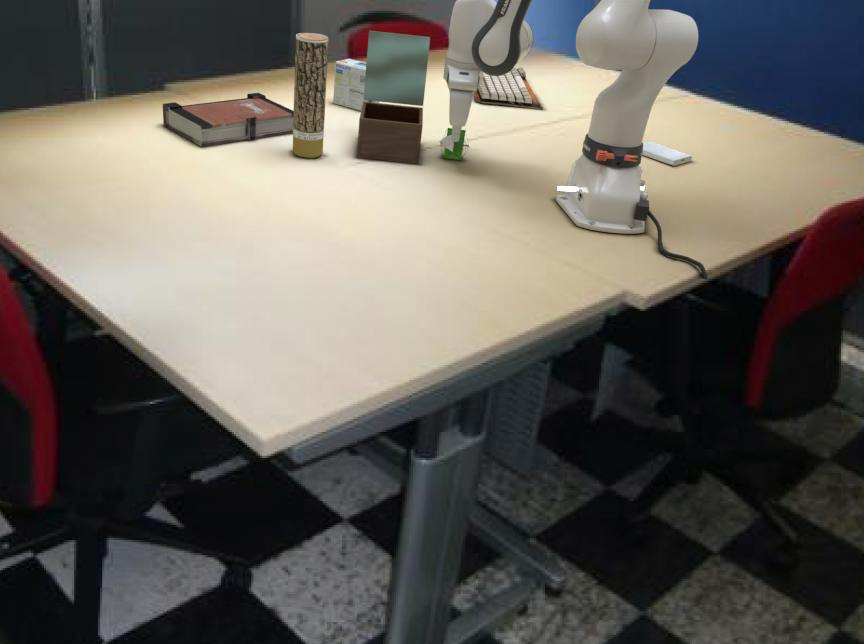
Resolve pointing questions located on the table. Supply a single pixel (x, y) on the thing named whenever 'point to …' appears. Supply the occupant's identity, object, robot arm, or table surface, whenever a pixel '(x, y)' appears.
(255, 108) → the book
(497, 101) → the mechanical keyboard
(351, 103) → the light bulb box
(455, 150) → the geometric puzzle
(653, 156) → the hard drive
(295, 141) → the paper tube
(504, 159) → the table surface
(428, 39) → the pale blue slab
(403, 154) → the case
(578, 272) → the table surface
